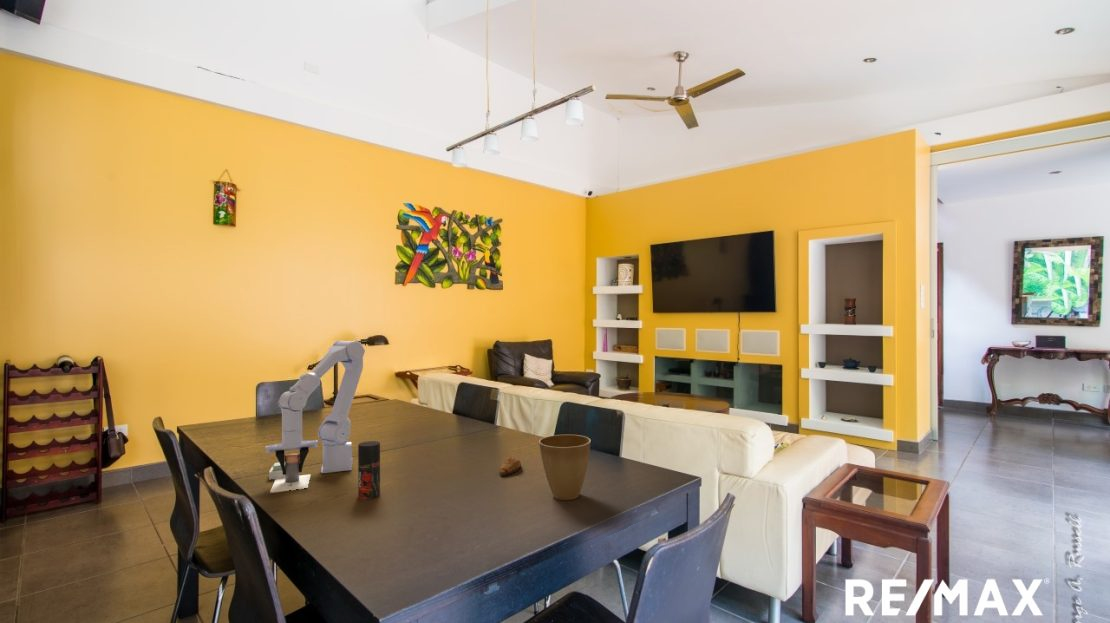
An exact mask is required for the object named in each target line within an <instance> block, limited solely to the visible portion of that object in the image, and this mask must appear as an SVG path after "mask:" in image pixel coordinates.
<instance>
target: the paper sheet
mask: <svg viewBox="0 0 1110 623" xmlns="http://www.w3.org/2000/svg"><path fill="white" fill-rule="evenodd" d="M311 476H312V474H309V473H308V474H301V475H300V474H299V481H296V482H291V483H287V482H285V477H282V478H276V479H274V481H273V482H274V483H273V485H272V487H271V488H270V491H269V494H274V493H282V492H289V490H291V491H297V490H296V489H299V490H305V489H304V488H307V489H309V485H310V484H309V483H310V481H309V480H311ZM308 484H309V485H308Z"/></svg>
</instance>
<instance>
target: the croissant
mask: <svg viewBox="0 0 1110 623" xmlns="http://www.w3.org/2000/svg"><path fill="white" fill-rule="evenodd" d="M521 466H522V463H521V460H520V459H517V458H515V457H512V456H510V457H507V458H505V459H504V460H503V461H502V462H501V465H500V467H499V475H500V477H505V476H506V477H507V476H509V475H512V474H513V473H516V472H518V470H519V469H520V468H521Z"/></svg>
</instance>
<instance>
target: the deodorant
mask: <svg viewBox="0 0 1110 623" xmlns="http://www.w3.org/2000/svg"><path fill="white" fill-rule="evenodd" d="M357 449H358V450H357V451H358V452H357V456H358V457H357V460H358V461H357V462H358V463H357V465H358V468H357V470H358V471H357V472H358V474H357V480H358V481H357V484H358V487H357V489H358V490H357V491H358V492H357V497H358V499H361V500H371V499H375V498H378V497H379V496H380V495H381V442H380V441H378V440H369V441H362V442H359V443H358V448H357Z"/></svg>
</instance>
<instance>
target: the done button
mask: <svg viewBox="0 0 1110 623" xmlns="http://www.w3.org/2000/svg"><path fill="white" fill-rule="evenodd" d="M272 467H273V471H278V470H282V468H281V465H280V463H279V462H274V464H273V466H272Z"/></svg>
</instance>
